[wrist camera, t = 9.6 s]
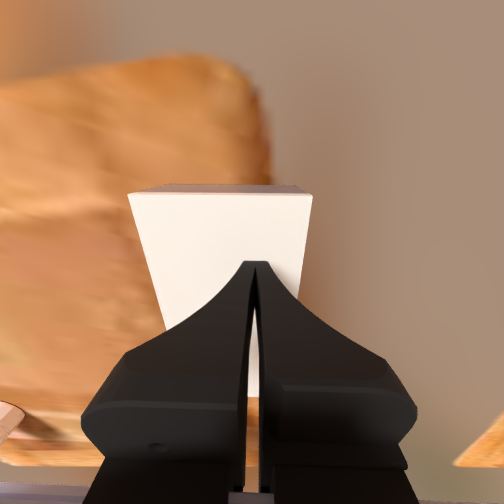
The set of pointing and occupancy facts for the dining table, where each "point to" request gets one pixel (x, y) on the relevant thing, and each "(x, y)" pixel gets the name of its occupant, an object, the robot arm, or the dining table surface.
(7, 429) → the white cup
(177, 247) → the duct lid
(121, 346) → the dining table surface
